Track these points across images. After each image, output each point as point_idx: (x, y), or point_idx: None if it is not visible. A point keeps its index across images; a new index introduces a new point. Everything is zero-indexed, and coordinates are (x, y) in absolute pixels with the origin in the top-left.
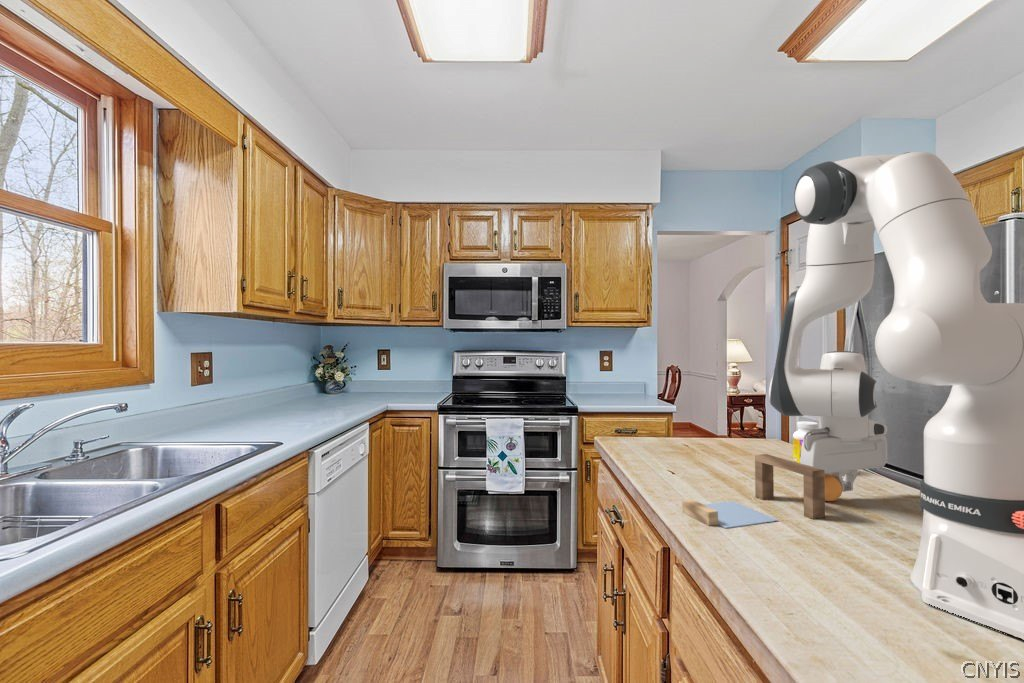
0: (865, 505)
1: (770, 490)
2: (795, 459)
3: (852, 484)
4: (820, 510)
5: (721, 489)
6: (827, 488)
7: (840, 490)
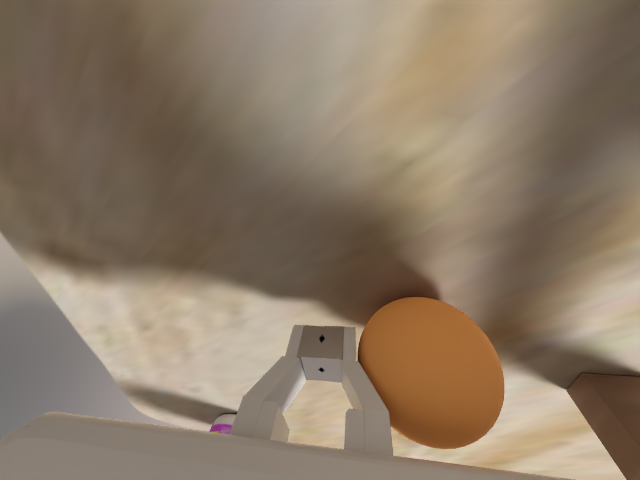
0: (308, 237)
1: (631, 411)
2: None
3: (289, 348)
4: None
5: None
6: (491, 352)
7: (412, 324)
